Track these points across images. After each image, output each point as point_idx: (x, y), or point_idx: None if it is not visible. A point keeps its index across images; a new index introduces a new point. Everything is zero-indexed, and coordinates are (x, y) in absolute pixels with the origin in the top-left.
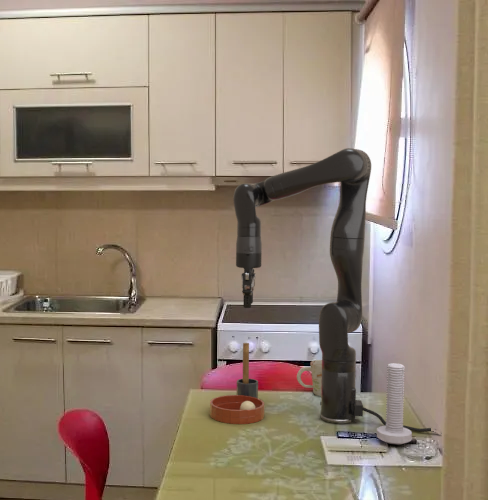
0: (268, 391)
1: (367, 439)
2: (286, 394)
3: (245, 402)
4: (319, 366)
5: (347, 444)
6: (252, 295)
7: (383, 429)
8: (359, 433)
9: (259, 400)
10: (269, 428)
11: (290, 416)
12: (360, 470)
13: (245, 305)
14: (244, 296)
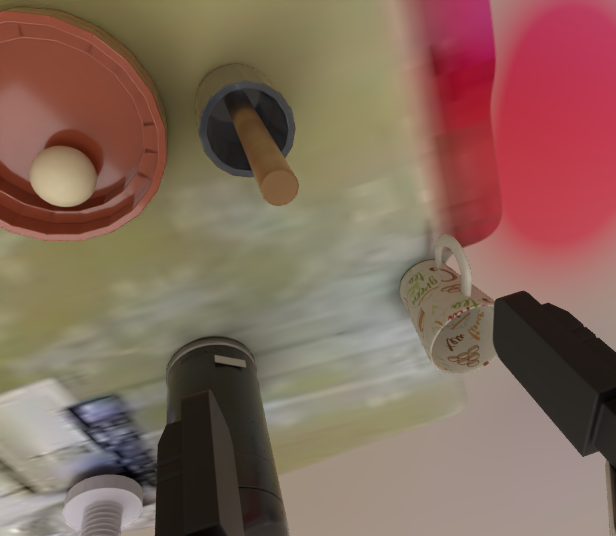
0: (417, 129)
1: (94, 452)
2: (396, 194)
3: (44, 181)
4: (431, 340)
5: (29, 436)
6: (550, 412)
7: (99, 497)
8: (127, 431)
9: (135, 205)
10: (16, 258)
11: (172, 272)
12: None
13: (165, 438)
14: (189, 523)
